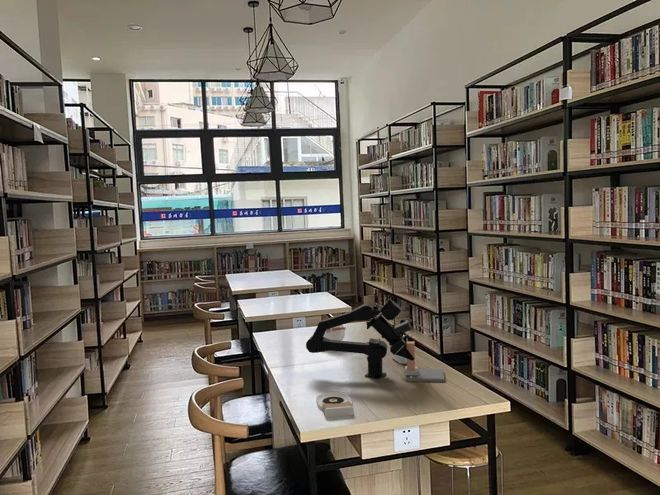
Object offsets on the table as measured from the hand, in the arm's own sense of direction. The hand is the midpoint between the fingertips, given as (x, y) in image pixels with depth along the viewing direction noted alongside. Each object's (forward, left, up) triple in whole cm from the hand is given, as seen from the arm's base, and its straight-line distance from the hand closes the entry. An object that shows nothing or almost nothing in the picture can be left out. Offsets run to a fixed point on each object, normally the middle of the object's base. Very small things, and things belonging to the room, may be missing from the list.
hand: (413, 356), depth 208 cm
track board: (+2, -4, -8) cm, 9 cm away
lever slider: (0, +1, -6) cm, 7 cm away
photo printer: (+17, +14, -8) cm, 24 cm away
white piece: (+26, +56, -8) cm, 62 cm away
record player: (-40, +12, -9) cm, 43 cm away
